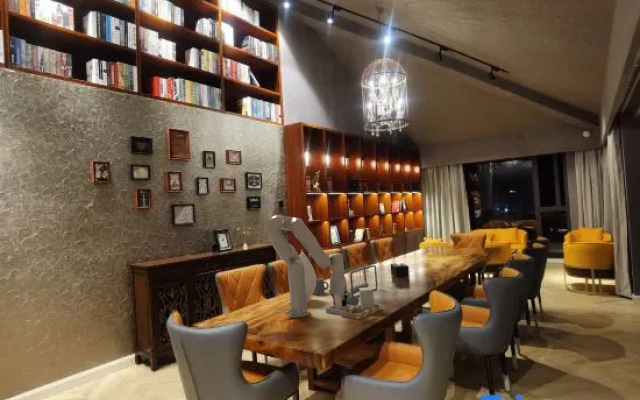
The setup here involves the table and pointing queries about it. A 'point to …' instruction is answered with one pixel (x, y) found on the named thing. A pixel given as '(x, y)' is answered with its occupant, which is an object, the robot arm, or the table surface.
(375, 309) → the wooden frame with crossbar
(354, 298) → the grey square holder
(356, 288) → the newton's cradle
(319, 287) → the coffee mug
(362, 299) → the supplement box
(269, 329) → the table surface
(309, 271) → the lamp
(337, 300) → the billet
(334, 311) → the frame
